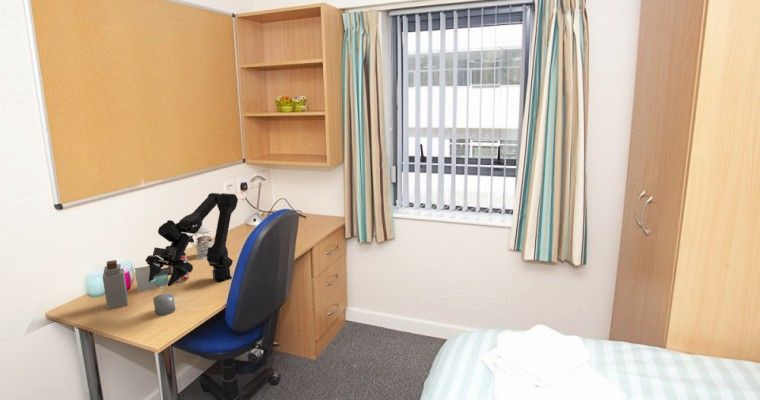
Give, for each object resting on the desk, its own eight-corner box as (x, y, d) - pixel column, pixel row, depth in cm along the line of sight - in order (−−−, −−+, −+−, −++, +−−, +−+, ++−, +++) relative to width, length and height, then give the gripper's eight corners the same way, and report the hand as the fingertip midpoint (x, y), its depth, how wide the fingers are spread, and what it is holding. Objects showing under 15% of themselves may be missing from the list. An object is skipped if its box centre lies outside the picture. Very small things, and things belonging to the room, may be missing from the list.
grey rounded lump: (165, 305, 175) (163, 292, 173) (179, 308, 172) (177, 295, 171) (151, 313, 168) (149, 300, 167) (165, 316, 166) (163, 302, 165)
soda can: (183, 283, 195) (180, 258, 193) (169, 282, 197) (165, 257, 194) (192, 277, 202) (189, 252, 199) (179, 276, 204) (176, 251, 201)
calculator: (150, 273, 208) (149, 267, 208) (176, 267, 215) (175, 261, 214) (154, 279, 201) (153, 273, 200) (181, 273, 208) (180, 267, 207)
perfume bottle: (107, 309, 172) (100, 266, 168) (109, 302, 178) (102, 260, 174) (127, 305, 175) (121, 263, 171) (128, 299, 181) (121, 257, 177)
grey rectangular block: (155, 288, 191) (152, 266, 188) (138, 291, 188) (134, 269, 185) (155, 285, 194) (152, 264, 192) (138, 288, 191) (135, 266, 189)
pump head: (162, 285, 171) (160, 272, 170) (172, 286, 170) (170, 274, 168) (146, 292, 165) (145, 280, 163) (156, 294, 163) (155, 282, 162)
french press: (211, 259, 224) (206, 211, 218) (188, 259, 224) (183, 211, 219) (218, 252, 234) (214, 206, 228) (196, 252, 234) (191, 206, 228)
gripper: (146, 235, 171) (125, 272, 163) (184, 240, 164) (164, 279, 157) (164, 248, 180) (145, 284, 172) (201, 253, 173) (183, 291, 166)
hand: (158, 284), depth 166 cm, fingers open, 9 cm apart
